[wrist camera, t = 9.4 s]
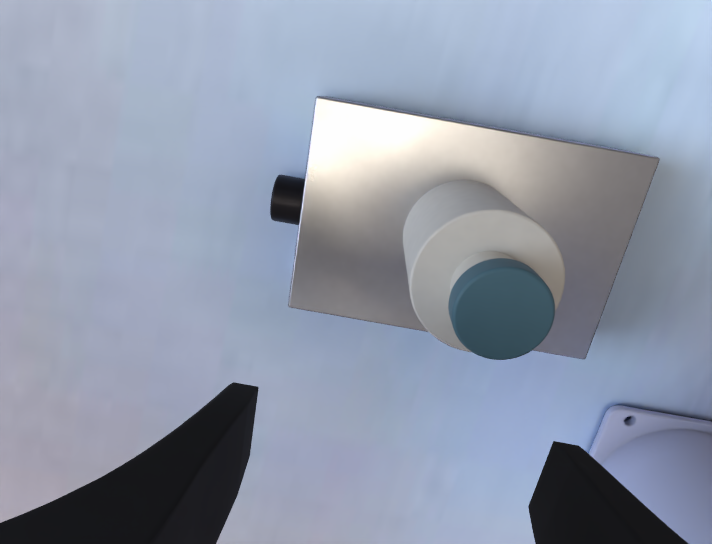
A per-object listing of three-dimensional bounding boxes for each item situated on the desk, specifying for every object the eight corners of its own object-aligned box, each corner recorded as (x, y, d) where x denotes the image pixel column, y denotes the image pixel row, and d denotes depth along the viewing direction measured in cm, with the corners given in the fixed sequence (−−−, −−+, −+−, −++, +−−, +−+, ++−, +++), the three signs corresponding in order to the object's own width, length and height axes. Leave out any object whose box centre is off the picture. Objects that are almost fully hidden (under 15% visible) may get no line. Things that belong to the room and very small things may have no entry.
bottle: (532, 191, 17) (623, 246, 11) (500, 298, 19) (564, 406, 12) (415, 170, 17) (435, 213, 11) (392, 279, 19) (397, 377, 12)
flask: (627, 150, 19) (661, 157, 17) (563, 332, 22) (585, 360, 19) (293, 90, 19) (281, 89, 17) (271, 280, 22) (257, 302, 19)
